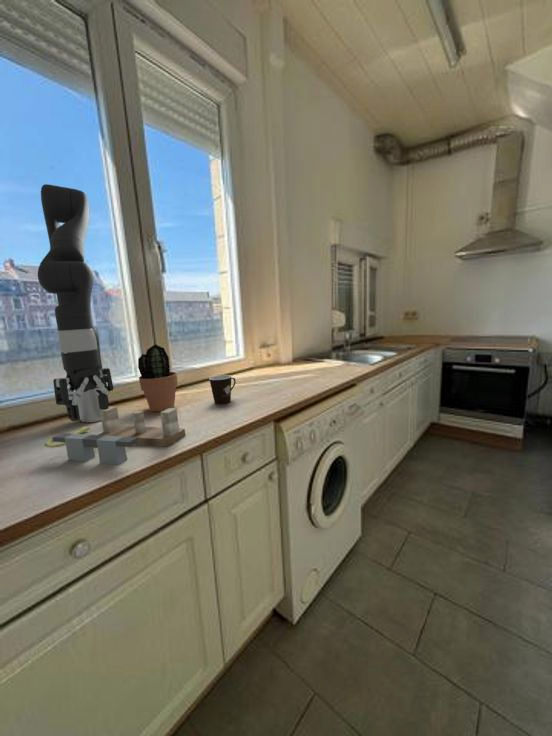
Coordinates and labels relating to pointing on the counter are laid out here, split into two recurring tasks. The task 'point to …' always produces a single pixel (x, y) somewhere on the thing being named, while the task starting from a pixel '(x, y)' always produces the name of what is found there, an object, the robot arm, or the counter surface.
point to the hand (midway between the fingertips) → (90, 414)
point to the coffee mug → (221, 388)
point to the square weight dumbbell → (108, 447)
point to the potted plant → (157, 379)
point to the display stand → (143, 427)
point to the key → (64, 442)
